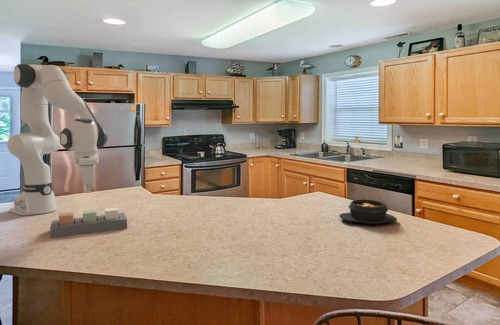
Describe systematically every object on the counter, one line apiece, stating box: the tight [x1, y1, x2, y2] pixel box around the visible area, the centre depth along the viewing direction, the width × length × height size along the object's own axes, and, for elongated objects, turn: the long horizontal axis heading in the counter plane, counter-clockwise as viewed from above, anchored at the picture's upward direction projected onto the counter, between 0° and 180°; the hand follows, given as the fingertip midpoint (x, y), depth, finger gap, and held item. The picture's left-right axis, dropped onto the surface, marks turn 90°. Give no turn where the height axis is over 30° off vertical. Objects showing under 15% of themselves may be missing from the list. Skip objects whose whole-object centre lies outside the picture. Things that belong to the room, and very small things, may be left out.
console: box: [49, 212, 128, 239], centre depth 145 cm, size 28×11×4 cm, turn 116°
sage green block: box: [82, 209, 97, 223], centre depth 144 cm, size 5×5×5 cm
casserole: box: [338, 199, 398, 226], centre depth 157 cm, size 25×19×8 cm
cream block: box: [104, 207, 119, 220], centre depth 148 cm, size 5×5×5 cm
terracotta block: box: [58, 211, 75, 225], centre depth 141 cm, size 5×5×5 cm
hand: (88, 192), depth 143 cm, fingers closed
